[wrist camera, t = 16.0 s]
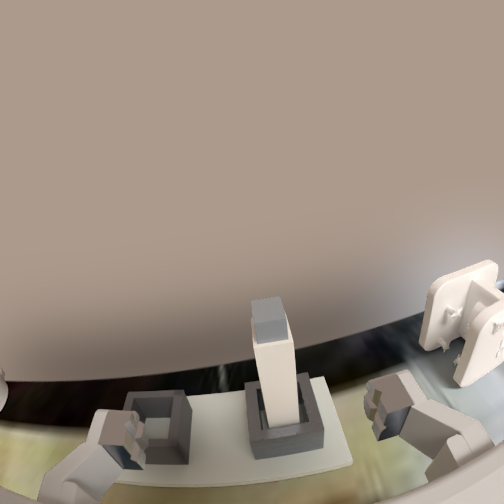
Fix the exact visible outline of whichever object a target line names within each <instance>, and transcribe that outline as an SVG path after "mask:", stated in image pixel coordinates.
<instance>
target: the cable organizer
mask: <svg viewBox="0 0 504 504" xmlns="http://www.w3.org/2000/svg"><path fill="white" fill-rule="evenodd" d="M497 274H498V265H497V264H496V263H494V262H492V261H491V260H485V261H482V262H480V263H477V264H474V265H472V266H469V267H466V268H464V269H461V270H458V271H456V272H453V273H450V274H448V275H445V276H442V277H440V278H438V279H437V280H436V281H435V282H434V283H433V284H432V285H431V287H430V288H429V291H428V294H427V301H426V307H425V312H424V318H423V323H422V328H421V333H420V338H419V344H420V345H421V346H422V347H423V348H424V349H425V350H426V351H433V350H435V349H437V348H439V347H441V346H442V347H443V348H442V349H444V352H445V351H446V349H449V344H450V342H451V341H452V340H454V339H456V338H458V337H460V336H461V337H462V338H464V339H465V340H466V342H465V345H464V348H463V351H462V354H461V355H459V354H458V357H457V359H456V360H455V361H454V362H453V363H455V365H454V367H455V366H456V364H457V363H458V365H457V368H456V371H455V373H454V376H453V379H454V380H455V381H456V382H457V384H458V385H459V386H460V387H466V386H468V385H470V384H472V383H473V382H475V381H476V380H478V379H479V378H481V377H482V376H484V375H485V374H487V373H488V372H490V371H491V370H493V369H494V368H495V367H497V366H498V365H500V364H501V363H502V362H504V293H502V292H501V291H499V290H498V289H497V288H495V283H496V278H497ZM444 352H443V353H444Z"/></svg>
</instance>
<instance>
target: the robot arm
mask: <svg viewBox="0 0 504 504" xmlns="http://www.w3.org/2000/svg"><path fill="white" fill-rule="evenodd" d="M366 388H367V390H368V392H367V393H366V395H365V396H364V409H365V413H366V415H367V418H368V419H369V420H371V421H373V425H372V430H373V432H374V434H375V437H376V439H377V441H381V440H385V439H388V438H391V437H394V436H397V435H399V437H401V438H402V439H404V440H405V441H406V442H408V443H409V444H411V445H412V446H414V447H415V448H416V449H418V450H419V451H421V452H422V453H424V454H425V455H427V456H428V457H430V458H431V459H433V461H432V463H431V464H430V465H429V467H428V468H427V470H426V471H425V475H426V477H427V479H428V483H426V484H424V485H422V486H419V487H417V488H415V489H412V490H410V491H407V492H405V493H402V494H400V495H397V496H395V497H392V498H389V499H386V500H383V501H381V502H378V503H375V504H504V440H503V441H502V442H500V443H499V444H497V445H496V446H495V445H494V444H493V442H492V440H491V439H490V437H489V436H488V434H487V433H486V431H485V429H484V428H483V426H482V425H481V423H480V422H479V421H477V420H475V419H473V418H471V417H468V416H466V415H464V414H462V413H460V412H458V411H456V410H453V409H451V408H449V407H447V406H445V405H443V404H441V403H439V402H437V401H435V400H433V399H429V400H427V398H426V397H425V395H424V393H423V392H422V390H421V389H420V387H419V386H418V384H417V382H416V381H415V379H414V378H413V376H412V375H411V373H410V372H409V371H408V370H407V369H406V370H403V371H400V372H397V373H394V374H393V373H392V374H389V375H386V376H383V377H379V378H376V379H372V380H369V381H368V382H367V386H366ZM7 396H8V386H7V384H6V382H5V380H4V371H3V370H2V369H1V368H0V411H1V410H2V408H3V406H4V404H5V402H6V400H7ZM139 417H140V416H139V415H138V413H137V412H136V411H120V410H104V409H98V410H97V411H96V412H95V415H94V418H93V421H92V424H91V427H90V430H89V433H88V436H87V439H86V442H85V443H83V442H82V443H81V444H80V445H79V446H77V447H76V448H75V449H74V450H73V451H72V452H71V453H69V454H68V455H67V456H66V457H65V458H64V459H62V460H61V461H60V462H59V463H58V464H57V465H55V466H54V467H53V468H52V469H51V470H49V471H48V472H47V473H46V474H45V475H44V478H43V482H42V485H41V488H40V491H39V494H38V498H37V501H36V500H33V499H31V498H28V497H25V496H23V495H20V494H18V493H15V492H13V491H11V490H8V489H6V488H4V487H2V486H0V504H101V503H100V502H98V501H99V500H100V499H101V498H102V496H103V495H104V494H105V493H106V492H107V490H108V489H109V488H110V487H111V485H112V484H113V483H114V482H115V481H116V479H117V478H118V477H119V476H120V475H121V473H122V472H123V471H124V470H123V469H128V470H144V467H145V461H146V455H145V453H144V452H143V451H144V450H145V449H146V448H147V447H148V442H149V436H148V431H147V428H146V426H145V424H144V423H142V422H140V421H139Z"/></svg>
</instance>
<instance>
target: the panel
mask: <svg viewBox="0 0 504 504" xmlns="http://www.w3.org/2000/svg"><path fill="white" fill-rule="evenodd" d="M310 382H311V385H312V389H313V392H314V395H315V399H316V402H317V405H318V408H319V412H320V415H321V418H322V422H323V425H324V446H323V448H322V449H317V450H312V451H308V452H303V453H297V454H292V455H286V456H280V457H273V458H266V459H259V460H255V458H254V455H253V452H252V448H251V445H250V442H249V432H248V420H247V407H246V395H245V390H243V391H235V392H227V393H218V394H208V395H196V396H186V395H185V392H184V390H183V389H182V390H167V391H146V392H128V394H127V397H126V401H125V404H124V408H123V411H136V412H137V413H138V415H139V416H140V417H139V421H140V422H142V423H144V424H145V426H146V428H147V431H148V436H149V442H148V447H147V448H146V449H145V450H144V451H143V452H144V453H145V455H146V461H145V467H144V470H128V469H123V470H124V471H123V472H122V473H121V475H120V476H119V477H118V478H117V479H116V481H115V482H114V483H121V484H130V485H141V486H156V487H221V486H236V485H247V484H257V483H265V482H272V481H279V480H286V479H292V478H297V477H303V476H308V475H313V474H317V473H322V472H326V471H330V470H335V469H339V468H342V467H346V466H350V465H352V463H353V459H352V456H351V453H350V450H349V448H348V445H347V442H346V439H345V436H344V433H343V430H342V427H341V424H340V421H339V418H338V415H337V413H336V410H335V407H334V404H333V401H332V398H331V395H330V393H329V390H328V387H327V384H326V381H325V379H324V376H323V377H318V378H313V379H310ZM298 408H299V423H300V424H301V423H305V421H304V417H303V413H302V409H301V405H300V404H298ZM261 415H262V423H263V430H265V429H269V424H268V419H267V414H266V410H262V411H261Z"/></svg>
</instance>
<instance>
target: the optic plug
mask: <svg viewBox="0 0 504 504" xmlns="http://www.w3.org/2000/svg"><path fill="white" fill-rule="evenodd" d="M251 305H252V314H253V318H251V327H252V337H253V346H254V352H255V358H256V363H257V368H258V373H259V379H260V384H261V389H262V394H263V399H264V404H265V409H266V414H267V419H268V424H269V429H272V428H278V427H284V426H290V425H295V424H300V423H299V408H298V393H297V380H296V367H295V354H294V343H293V338H292V335H291V331H290V328H289V324H288V320H287V317H286V313H285V311H284V307H283V304H282V300H281V297H280V296H278V297H272V298H266V299H259V300H252V301H251Z"/></svg>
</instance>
